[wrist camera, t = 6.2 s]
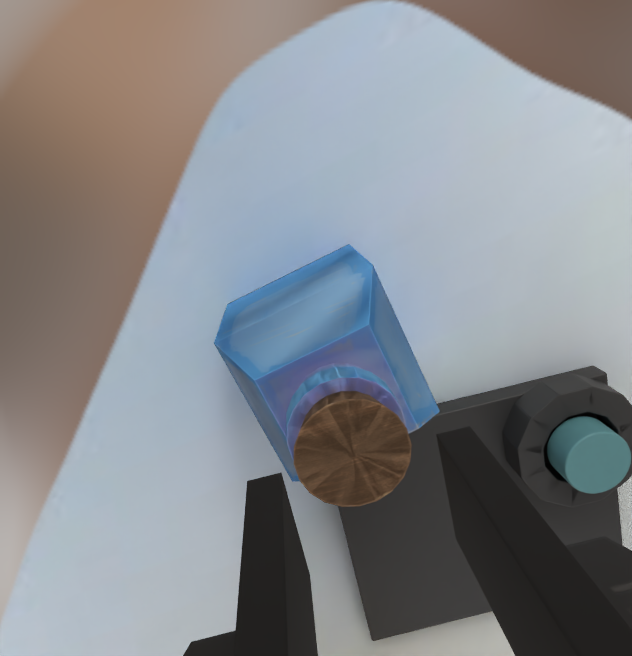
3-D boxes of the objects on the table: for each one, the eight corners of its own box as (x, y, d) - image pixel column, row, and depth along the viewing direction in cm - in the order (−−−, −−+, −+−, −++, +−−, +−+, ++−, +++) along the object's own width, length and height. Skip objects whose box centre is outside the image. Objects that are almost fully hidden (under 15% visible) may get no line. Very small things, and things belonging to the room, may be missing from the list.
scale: (318, 423, 28) (323, 452, 25) (601, 354, 28) (639, 374, 25) (368, 624, 31) (378, 670, 28) (620, 561, 31) (656, 600, 28)
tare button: (542, 424, 26) (561, 441, 24) (606, 408, 26) (629, 424, 24) (550, 480, 26) (568, 501, 25) (611, 465, 26) (634, 485, 25)
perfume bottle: (349, 244, 25) (413, 300, 14) (402, 359, 27) (500, 495, 16) (227, 304, 26) (191, 408, 14) (288, 415, 27) (299, 589, 16)
